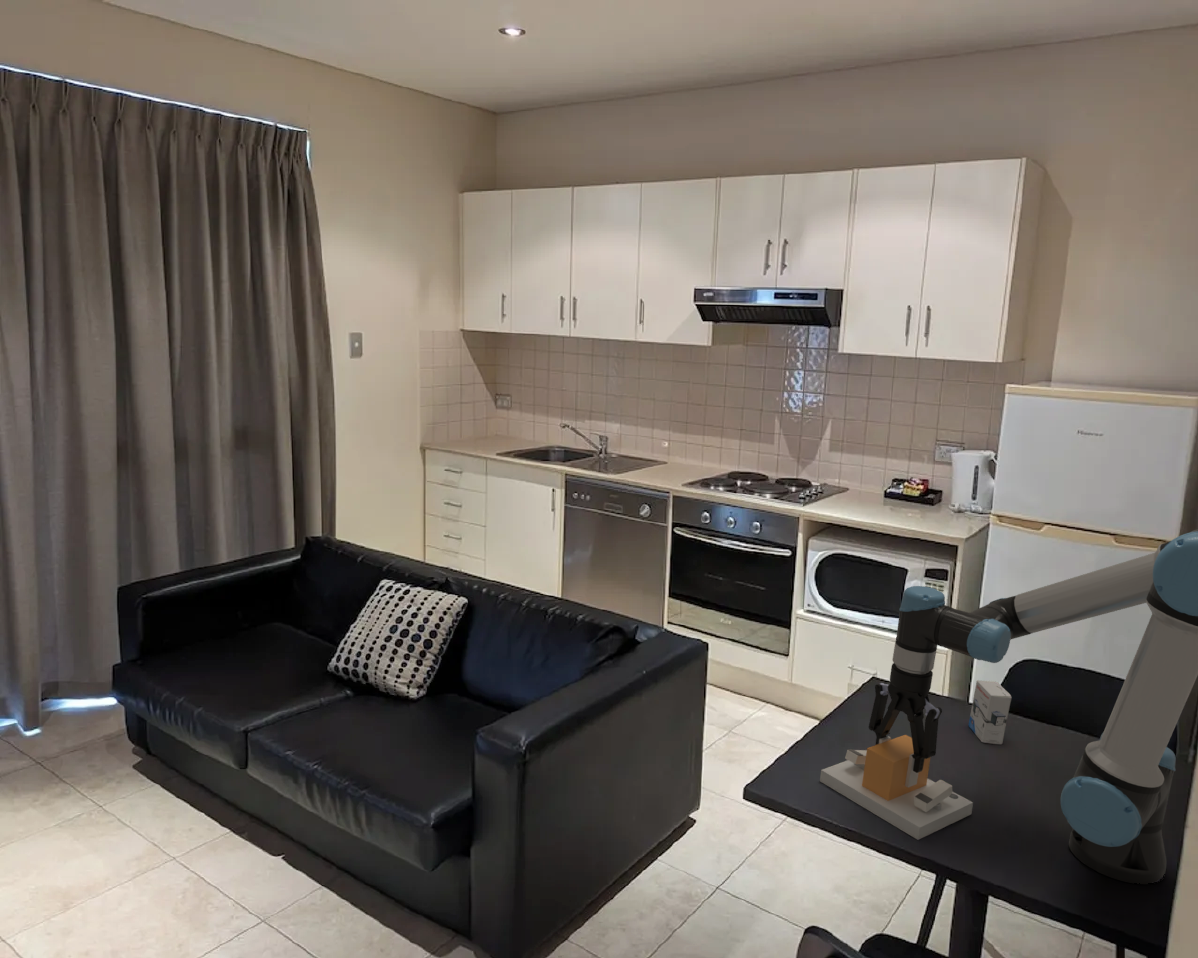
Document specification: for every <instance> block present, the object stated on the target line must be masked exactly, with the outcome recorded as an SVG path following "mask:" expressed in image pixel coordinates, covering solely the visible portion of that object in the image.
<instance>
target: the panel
mask: <svg viewBox="0 0 1198 958" xmlns="http://www.w3.org/2000/svg"><path fill="white" fill-rule="evenodd" d="M864 767H865V764H854V763H852V762H851V761H849V760H847V759H846V760H845V761H841V762H840V763H836V764H834V765H832V766H828V767H826V768H822V769H821V770H820V777H819V782H820V783H822V784H824V785H825V786H827V787H829V788H830V789H832V790H834V791H835V792H837V793H839V794H840V795H842V796H844V797H845V798H847V799H849V800H851V801H852V802H853V803H855V804H857V805H858V806H860V807H862V808H864V809H865V810H867V811H868V812H871V813H872V814H874V815H876V816H877V817H878V818H880V819H882V820H884V821H886V822H887V823H889V824H890V825H892V826H894V827H895V828H896V829H898V830H901V831H902V832H904V833H906V834H907V835H909V836H911V837H912V838H914V839H916V840H918V841H919V840H921V839H923V838H925V837H927V836H929V835H932V834H933V833H936V832H938V831H940V830H942V829H943V828H945V827H948V826H950V825H951V824H954V823H956V822H958V821H960V820H963V819H964V818H966V817H968V816H969V817H970V816H971V815H972V811H973V805H974V802H972V801H971V800H970V799H967V798H965V797H964V796H962V795H960V794H958V793H956V792H954V791H952V794H951V795H950V796H948V797H947V798H945V799H944V800H943V801H941V802H940V803H938V804H937V805H936V806H934V807H933V808H931V809H930V810H929V811H927V812H925V811H923V810H922V809H920V808H918V807H916V806H915V805H914V797H915V796H916V795H918V794H919V793H921V792H923V791H924V790H926V789H927V788H929V787H930V786H932V785H933V784H934V783H936V782H935V781H933V780H932V779H931V778H927V784H926V786H923V787H921V788H918V789H916V790H914V791H911V792H909V793H906V794H904V795H901V796H899V797H897V798H894V799H892V800H889V801H887V800H886V799H884V798H882V797H880V796H879V795H877V794H875V793H874V792H872V791H870V790H868V789H867V788H865V787H863V786H862V781H863V774H864Z"/></svg>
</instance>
